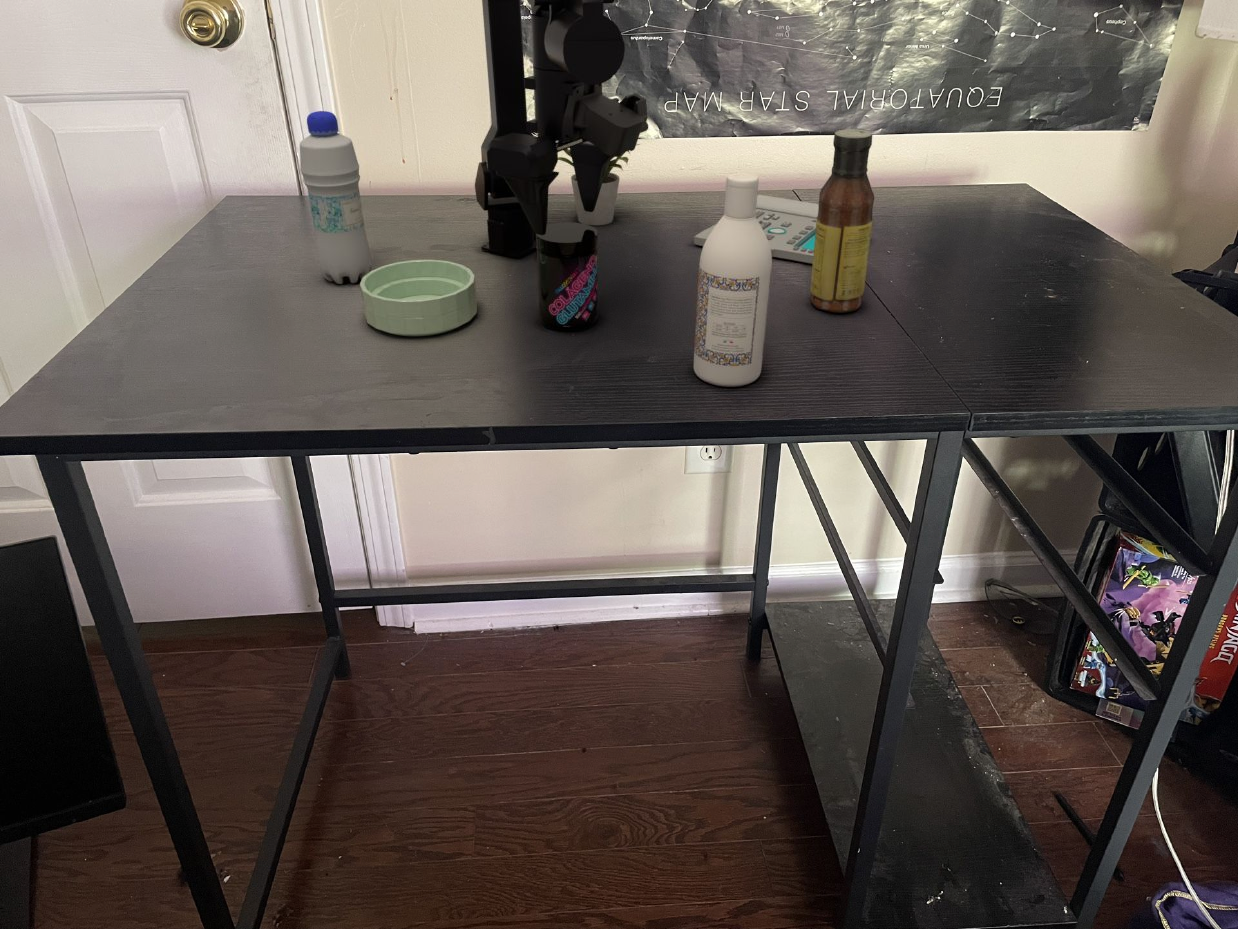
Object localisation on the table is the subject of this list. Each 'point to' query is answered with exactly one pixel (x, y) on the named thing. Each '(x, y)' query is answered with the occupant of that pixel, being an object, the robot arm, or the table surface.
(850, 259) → the sauce bottle
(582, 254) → the supplement container
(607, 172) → the house plant
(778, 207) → the office telephone
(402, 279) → the bowl
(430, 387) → the table surface
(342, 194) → the bottle
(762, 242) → the bath foam
